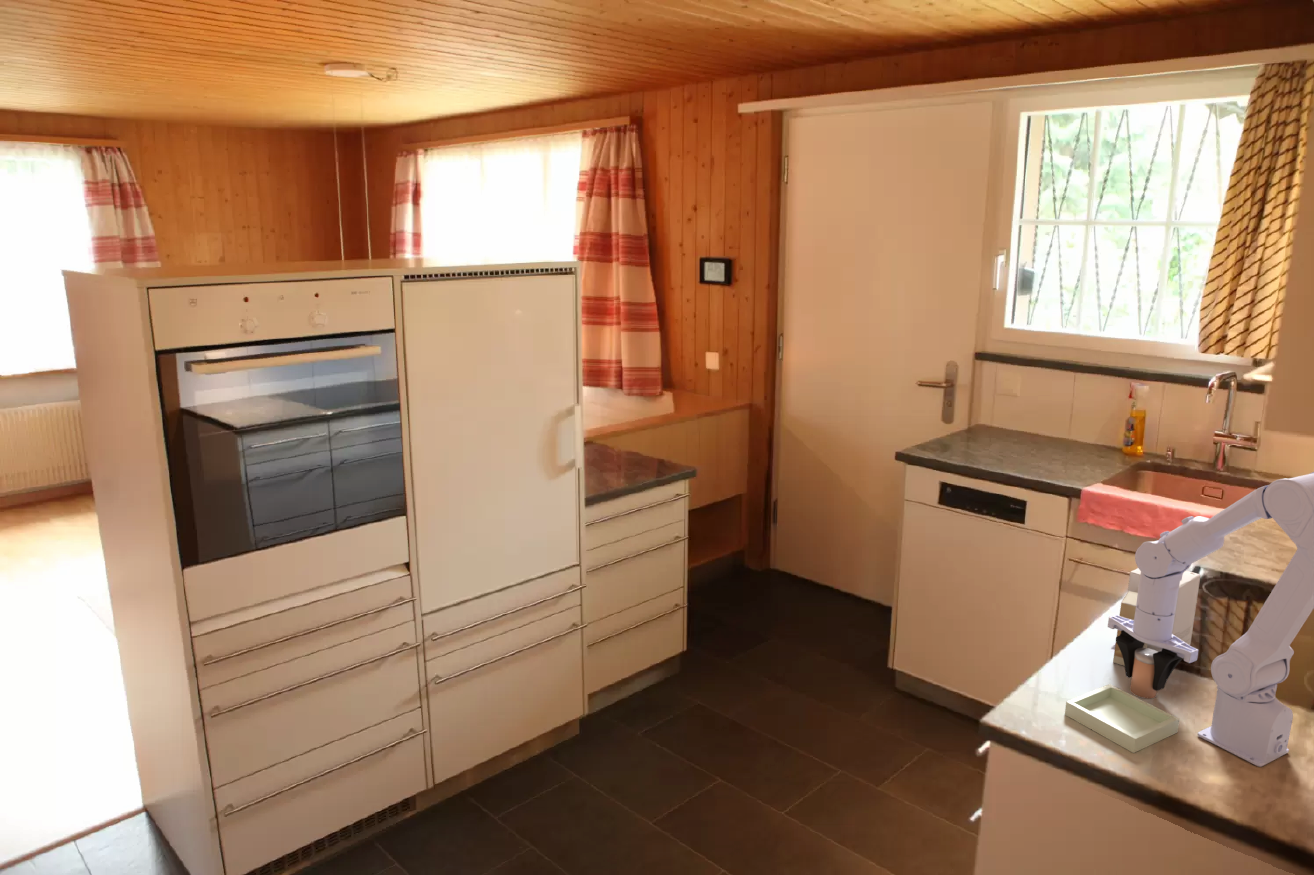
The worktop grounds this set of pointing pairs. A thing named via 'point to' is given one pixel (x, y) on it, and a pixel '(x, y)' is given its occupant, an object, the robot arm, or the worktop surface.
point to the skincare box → (1127, 612)
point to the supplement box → (1183, 606)
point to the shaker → (1143, 673)
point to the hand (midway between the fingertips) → (1144, 682)
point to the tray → (1122, 717)
